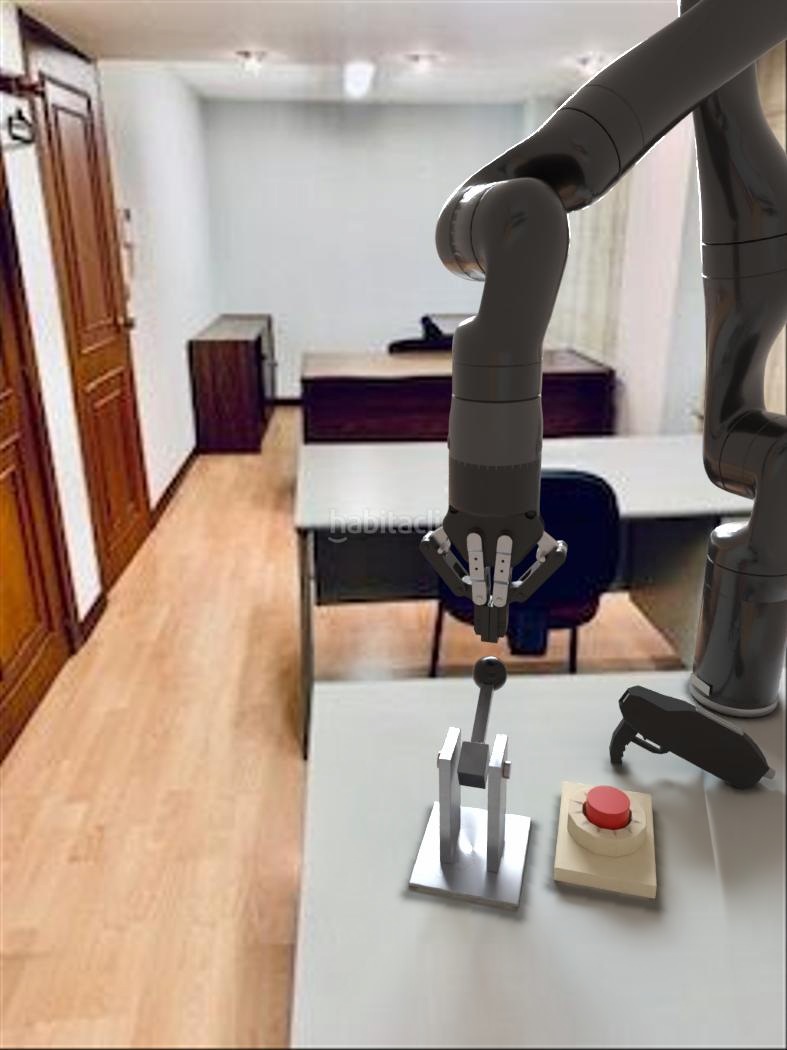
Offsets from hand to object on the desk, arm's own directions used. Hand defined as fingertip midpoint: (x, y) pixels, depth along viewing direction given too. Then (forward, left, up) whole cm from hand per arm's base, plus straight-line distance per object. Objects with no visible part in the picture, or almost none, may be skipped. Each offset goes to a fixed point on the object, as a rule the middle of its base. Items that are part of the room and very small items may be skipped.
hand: (490, 638), depth 68 cm
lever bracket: (+8, 0, -17) cm, 19 cm away
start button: (+4, +11, -14) cm, 18 cm away
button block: (+4, +11, -17) cm, 21 cm away
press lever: (+3, 0, -7) cm, 8 cm away
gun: (-8, +19, -18) cm, 27 cm away
